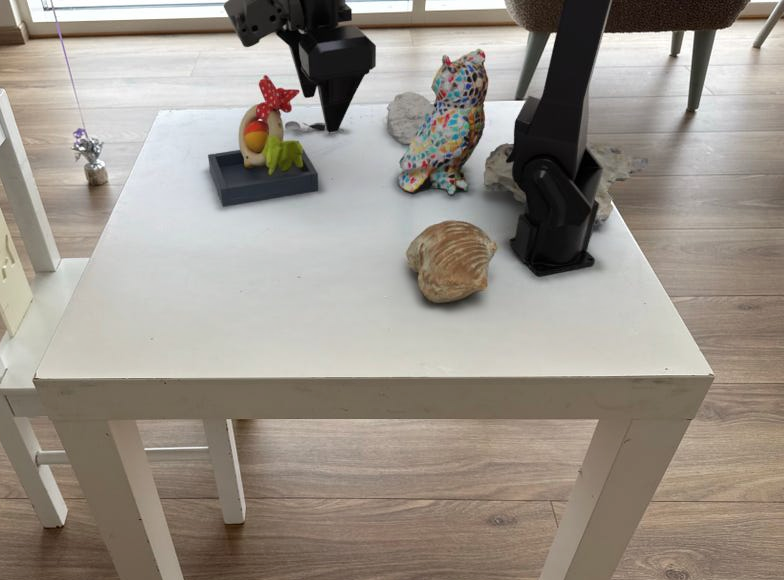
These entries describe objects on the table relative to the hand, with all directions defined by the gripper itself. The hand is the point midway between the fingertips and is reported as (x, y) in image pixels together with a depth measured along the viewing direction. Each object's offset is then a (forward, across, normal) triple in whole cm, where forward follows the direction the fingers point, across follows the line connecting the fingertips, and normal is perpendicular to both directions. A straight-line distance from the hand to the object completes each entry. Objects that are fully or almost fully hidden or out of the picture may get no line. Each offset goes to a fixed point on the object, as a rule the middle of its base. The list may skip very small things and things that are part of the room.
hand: (320, 113), depth 77 cm
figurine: (+12, -2, +15) cm, 19 cm away
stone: (+12, -16, +18) cm, 27 cm away
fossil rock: (+9, 0, +28) cm, 29 cm away
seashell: (+12, +18, +8) cm, 23 cm away
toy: (+11, -19, +4) cm, 22 cm away
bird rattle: (+10, -9, -5) cm, 14 cm away
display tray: (+11, -9, -5) cm, 15 cm away
